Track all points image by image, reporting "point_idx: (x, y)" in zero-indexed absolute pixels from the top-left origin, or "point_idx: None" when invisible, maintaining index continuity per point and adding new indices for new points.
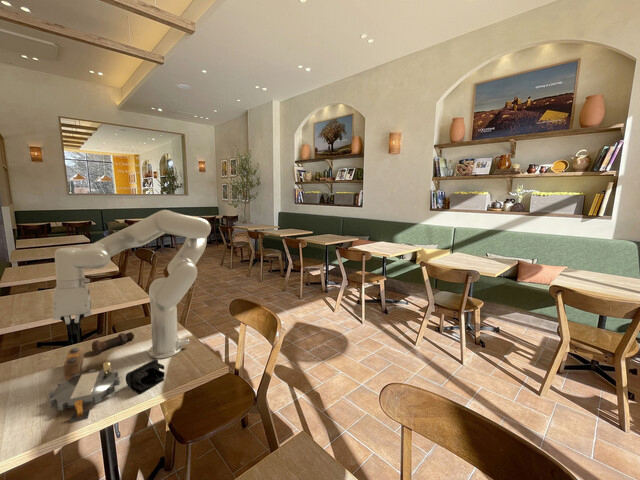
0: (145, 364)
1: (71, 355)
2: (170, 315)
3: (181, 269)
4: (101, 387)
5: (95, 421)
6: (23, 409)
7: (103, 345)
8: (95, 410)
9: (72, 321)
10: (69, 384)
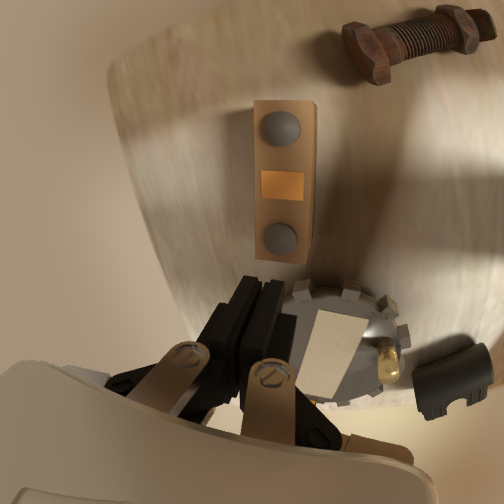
0: (463, 392)
1: (273, 177)
2: None
3: None
4: (357, 386)
5: (334, 410)
6: (204, 311)
7: (394, 61)
8: None
9: (226, 364)
10: None
